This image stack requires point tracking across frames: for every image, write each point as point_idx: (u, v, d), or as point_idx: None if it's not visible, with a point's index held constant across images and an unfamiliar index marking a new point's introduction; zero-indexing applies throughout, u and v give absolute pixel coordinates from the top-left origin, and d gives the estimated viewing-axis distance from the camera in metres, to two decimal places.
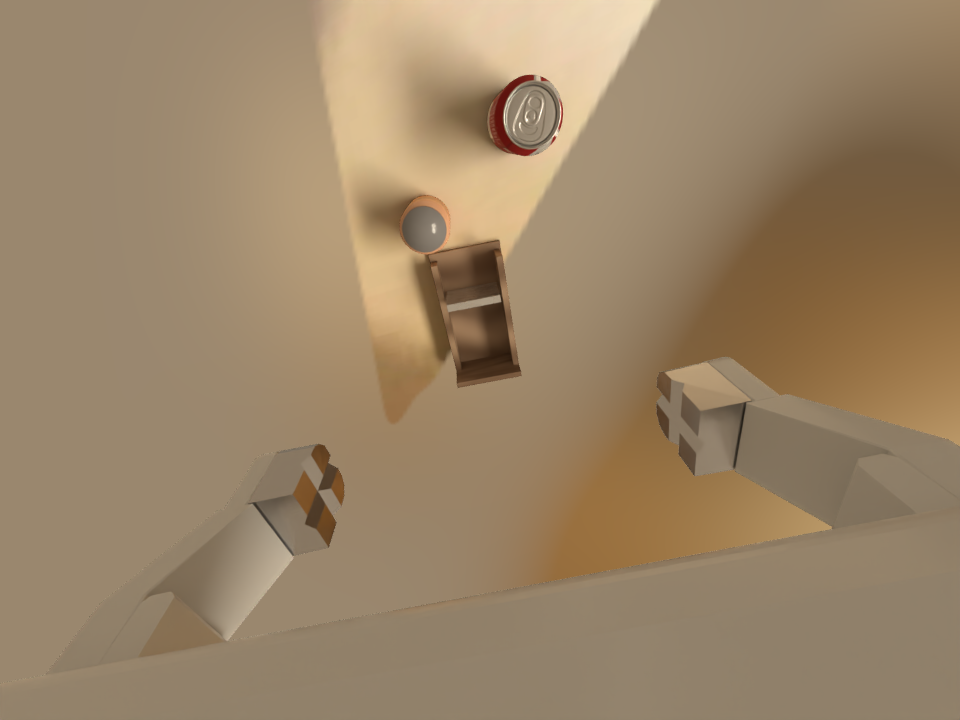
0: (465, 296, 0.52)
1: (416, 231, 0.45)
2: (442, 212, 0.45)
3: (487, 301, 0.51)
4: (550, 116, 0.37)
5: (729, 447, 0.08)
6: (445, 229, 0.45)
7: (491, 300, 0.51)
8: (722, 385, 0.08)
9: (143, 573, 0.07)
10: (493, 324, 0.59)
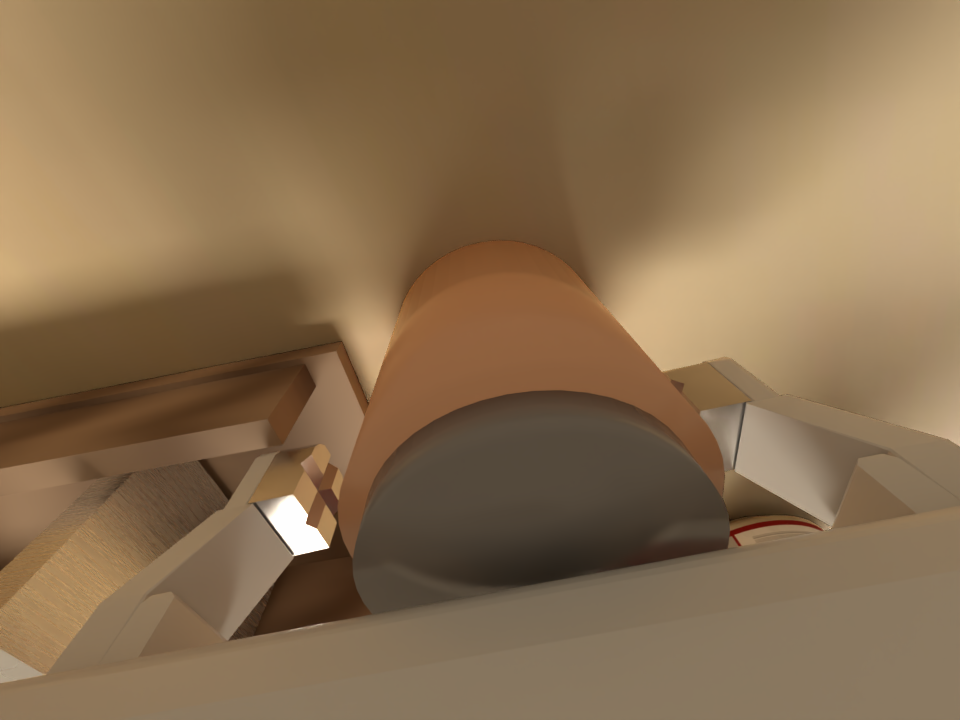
0: None
1: (536, 531, 0.05)
2: None
3: None
4: None
5: (729, 447, 0.08)
6: None
7: None
8: (722, 385, 0.08)
9: (143, 574, 0.07)
10: None
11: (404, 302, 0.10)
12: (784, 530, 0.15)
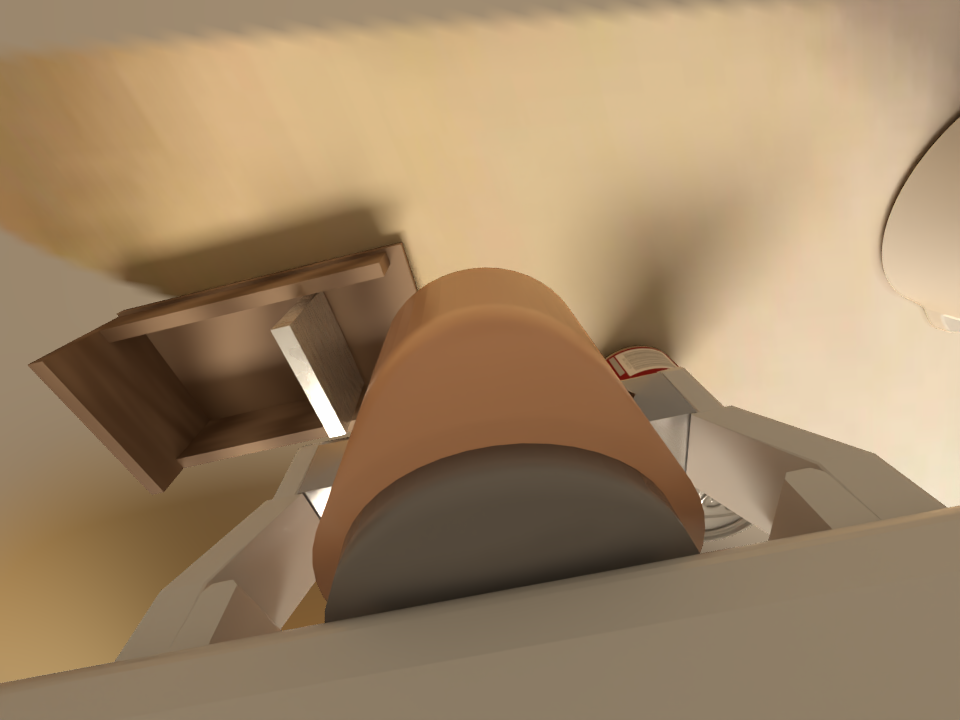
0: (322, 353, 0.22)
1: (517, 586, 0.05)
2: None
3: (324, 412, 0.22)
4: (707, 524, 0.21)
5: (678, 457, 0.08)
6: None
7: (328, 419, 0.22)
8: (671, 396, 0.08)
9: (199, 563, 0.07)
10: (267, 384, 0.27)
11: (392, 324, 0.10)
12: (640, 350, 0.27)
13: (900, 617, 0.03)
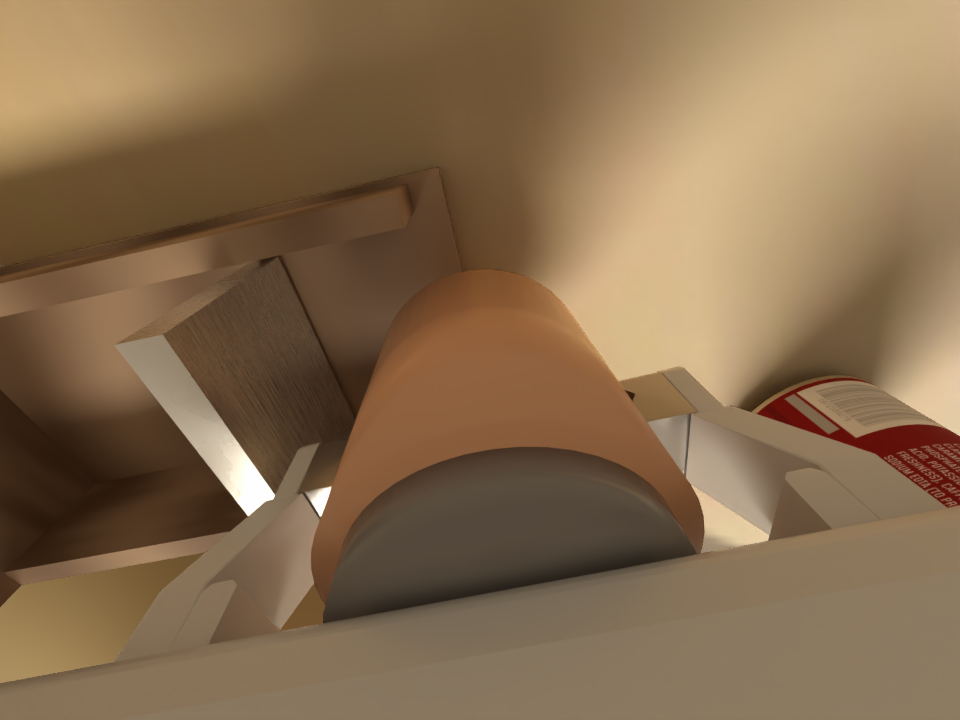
0: (269, 390, 0.10)
1: None
2: None
3: None
4: None
5: (678, 457, 0.08)
6: None
7: None
8: (671, 396, 0.08)
9: (199, 563, 0.07)
10: None
11: (391, 326, 0.10)
12: (846, 384, 0.15)
13: (900, 617, 0.03)
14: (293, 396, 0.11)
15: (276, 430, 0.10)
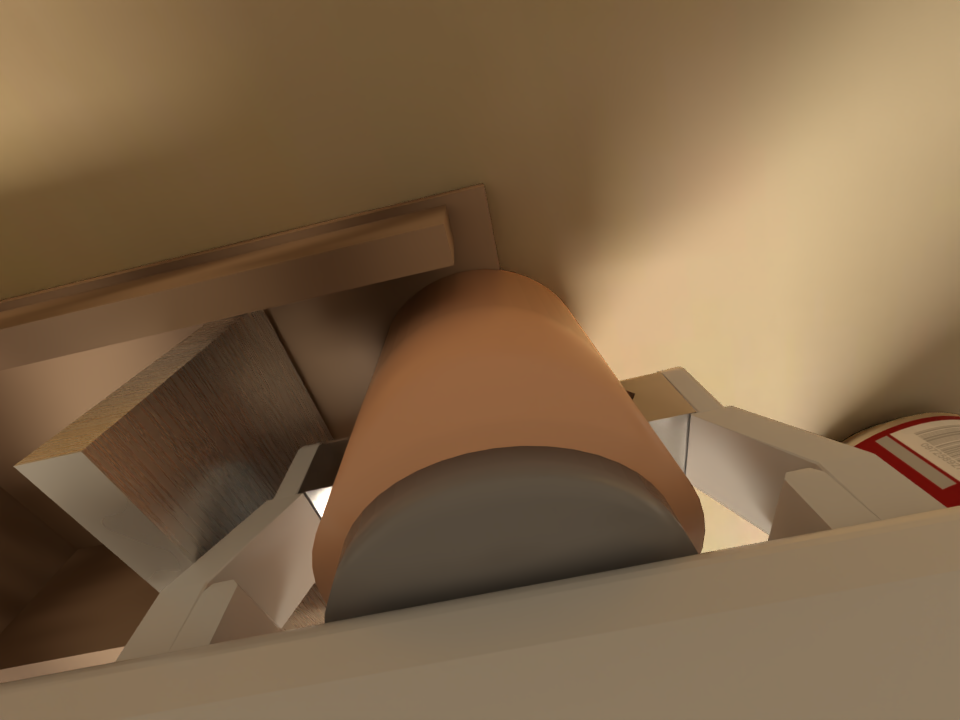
0: (246, 480, 0.08)
1: None
2: None
3: None
4: None
5: (678, 457, 0.08)
6: None
7: None
8: (671, 396, 0.08)
9: (200, 563, 0.07)
10: None
11: (392, 326, 0.10)
12: (950, 424, 0.13)
13: (900, 617, 0.03)
14: (279, 477, 0.09)
15: None
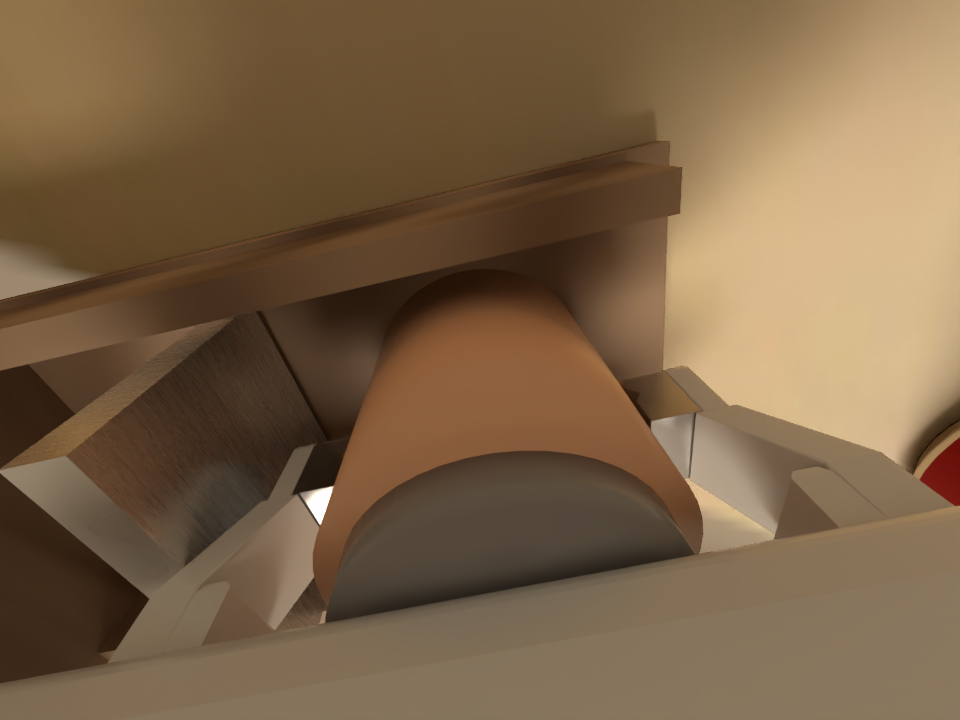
0: (237, 484, 0.08)
1: None
2: None
3: None
4: None
5: (682, 456, 0.08)
6: None
7: None
8: (675, 395, 0.08)
9: (193, 564, 0.07)
10: None
11: (391, 326, 0.10)
12: None
13: (900, 617, 0.03)
14: (271, 480, 0.09)
15: None
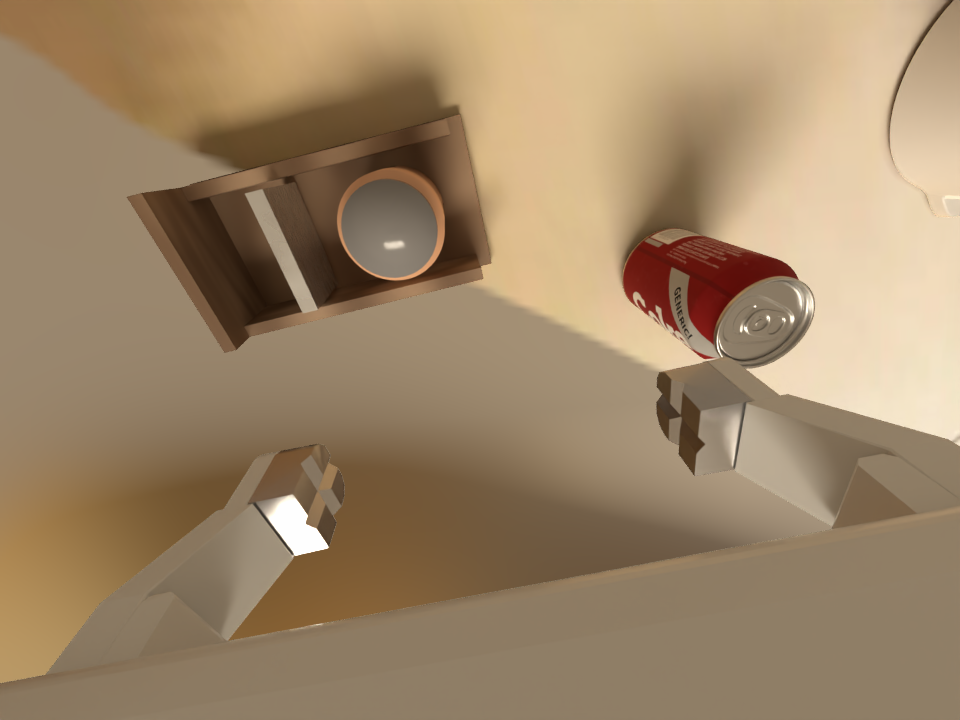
0: (295, 232, 0.24)
1: (386, 213, 0.21)
2: (424, 268, 0.23)
3: (297, 285, 0.24)
4: (750, 352, 0.23)
5: (729, 447, 0.08)
6: (393, 275, 0.22)
7: (301, 293, 0.24)
8: (722, 385, 0.08)
9: (143, 574, 0.07)
10: None
11: None
12: (673, 229, 0.29)
13: (900, 617, 0.03)
14: (305, 242, 0.25)
15: (299, 248, 0.24)
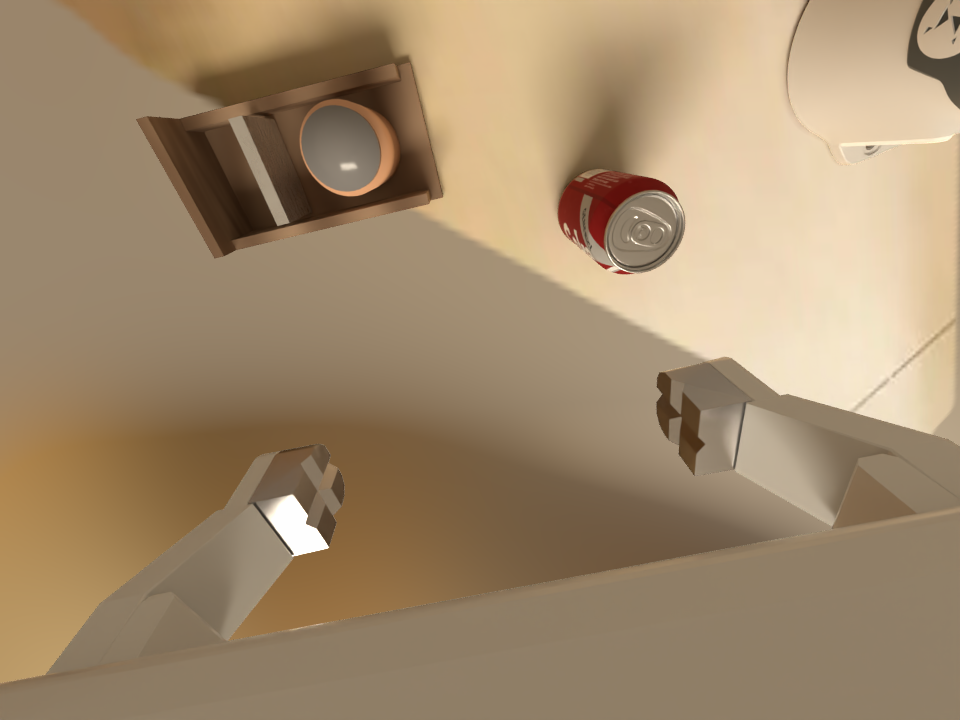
0: (271, 157, 0.29)
1: (337, 134, 0.26)
2: (371, 186, 0.28)
3: (271, 200, 0.29)
4: (638, 259, 0.28)
5: (729, 447, 0.08)
6: (344, 189, 0.28)
7: (275, 208, 0.29)
8: (722, 385, 0.08)
9: (144, 574, 0.07)
10: None
11: None
12: (598, 169, 0.34)
13: (900, 617, 0.03)
14: (280, 168, 0.30)
15: (274, 171, 0.29)
